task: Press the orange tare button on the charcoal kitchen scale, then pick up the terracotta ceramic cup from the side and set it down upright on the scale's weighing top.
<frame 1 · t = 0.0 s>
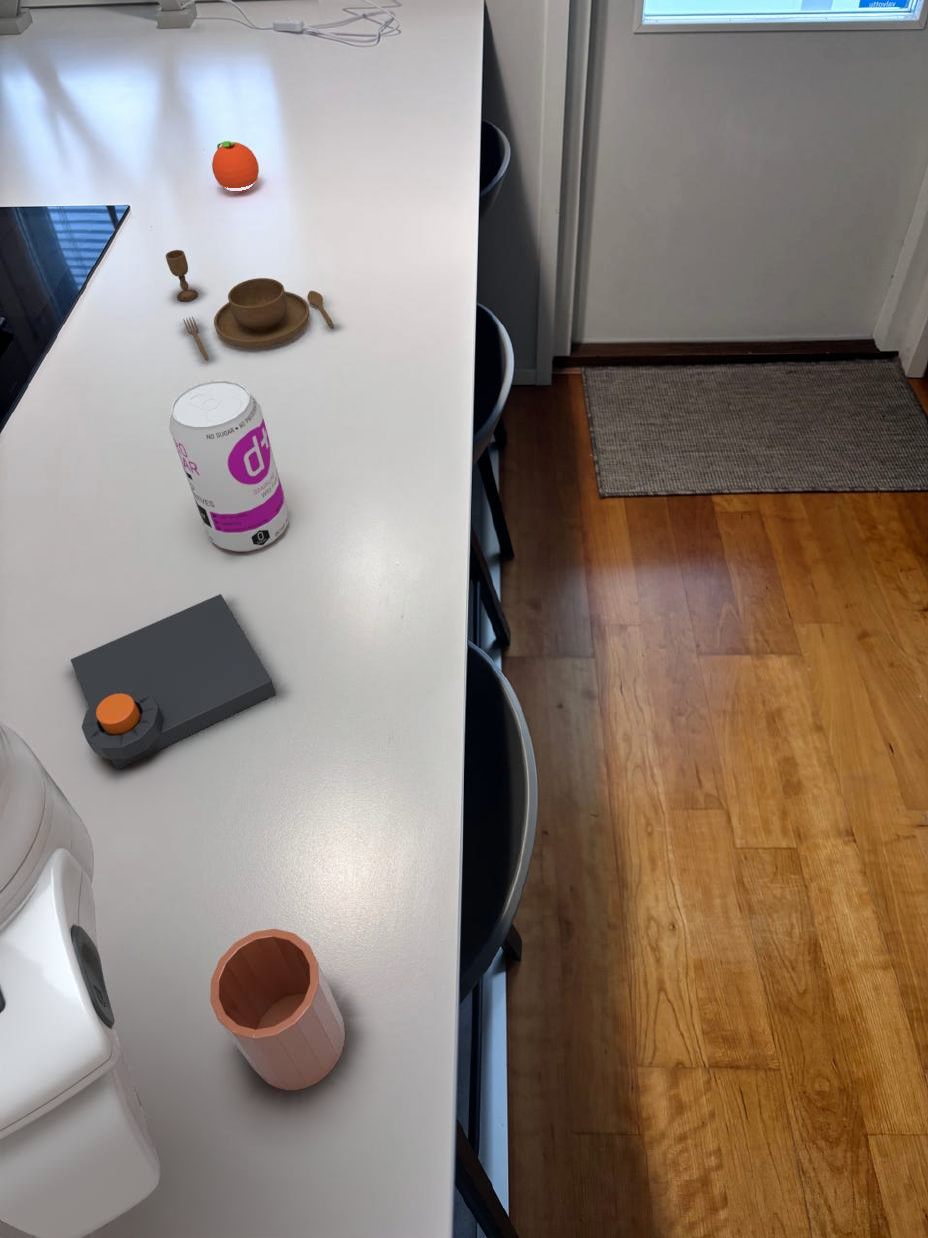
hand: (91, 1017, 43), 21 cm above the counter, tool pointing down, fingers open, 8 cm apart
cup: (297, 1039, 62), on the counter
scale: (175, 683, 82), on the counter
clementine: (239, 190, 147), on the counter
tare button: (118, 714, 76), point 4 cm above the counter, slide at 0.1 cm
supplement can: (249, 528, 95), on the counter
place setting: (254, 314, 123), on the counter
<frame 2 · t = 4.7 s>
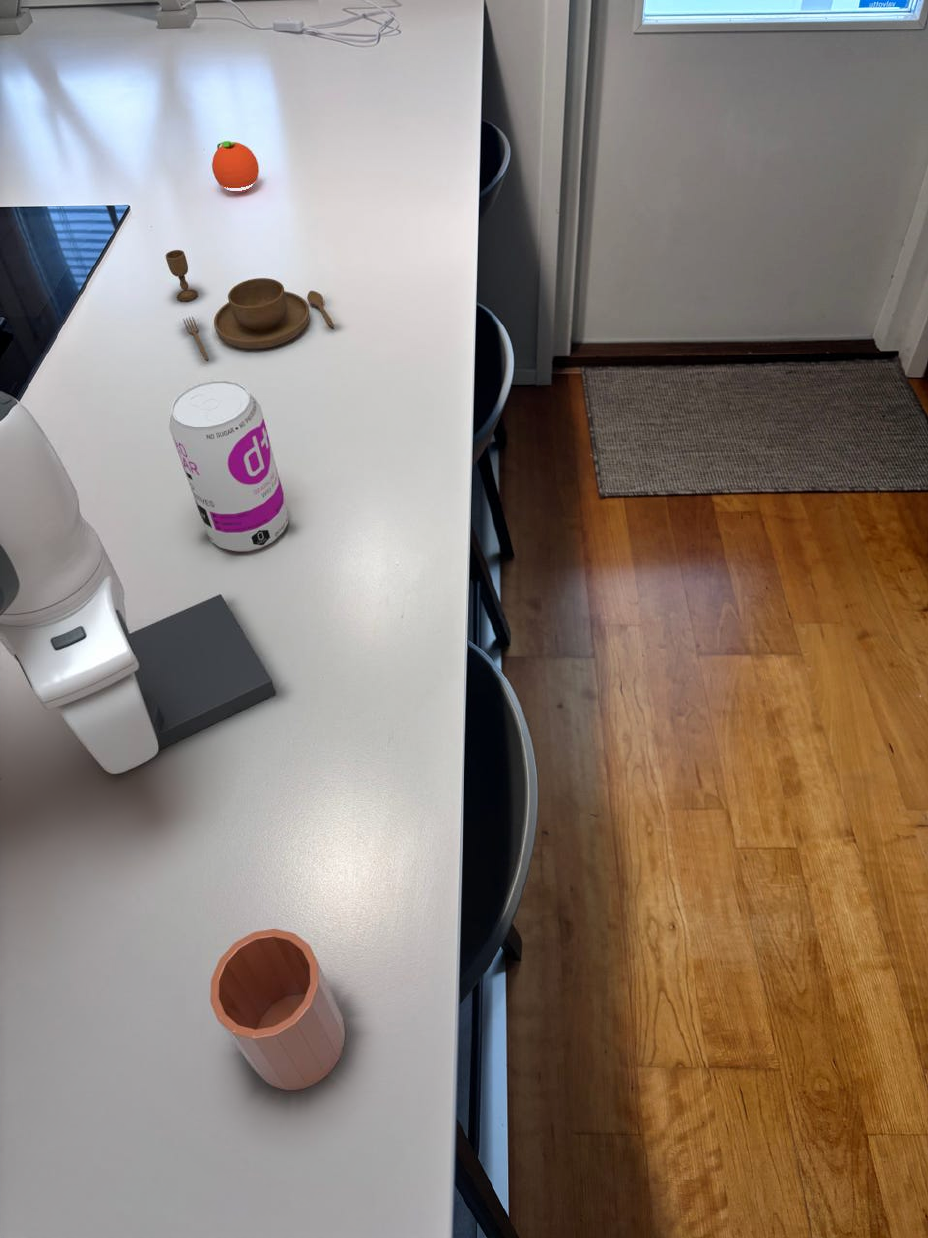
hand: (120, 712, 76), 4 cm above the counter, tool pointing down, fingers closed, pressing on tare button
tare button: (121, 719, 76), point 3 cm above the counter, slide at -0.7 cm, touching gripper
everything else where it was.
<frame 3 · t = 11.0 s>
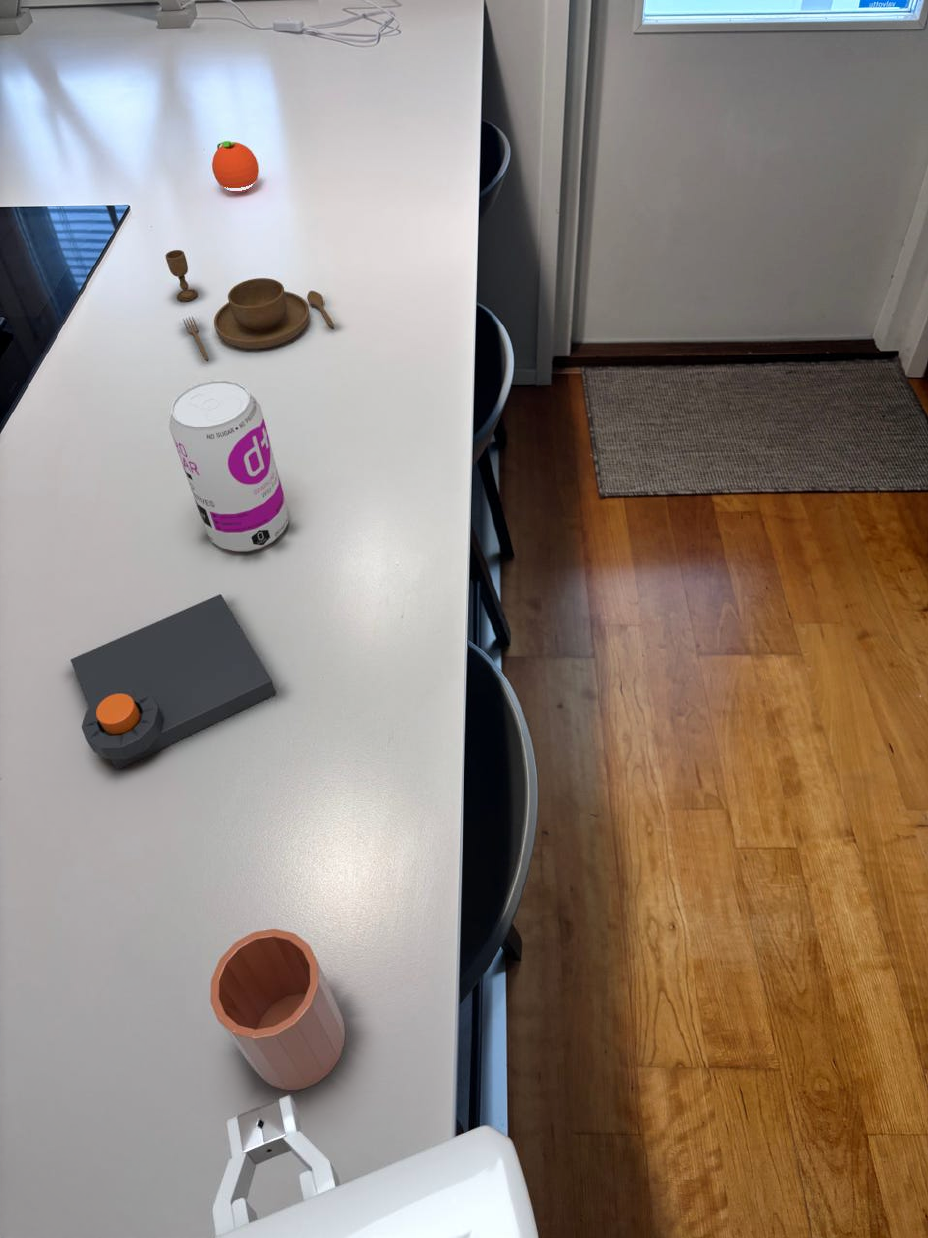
hand: (261, 1110, 43), 17 cm above the counter, tool horizontal, fingers closed
tare button: (118, 714, 76), point 4 cm above the counter, slide at 0.1 cm
everything else where it was.
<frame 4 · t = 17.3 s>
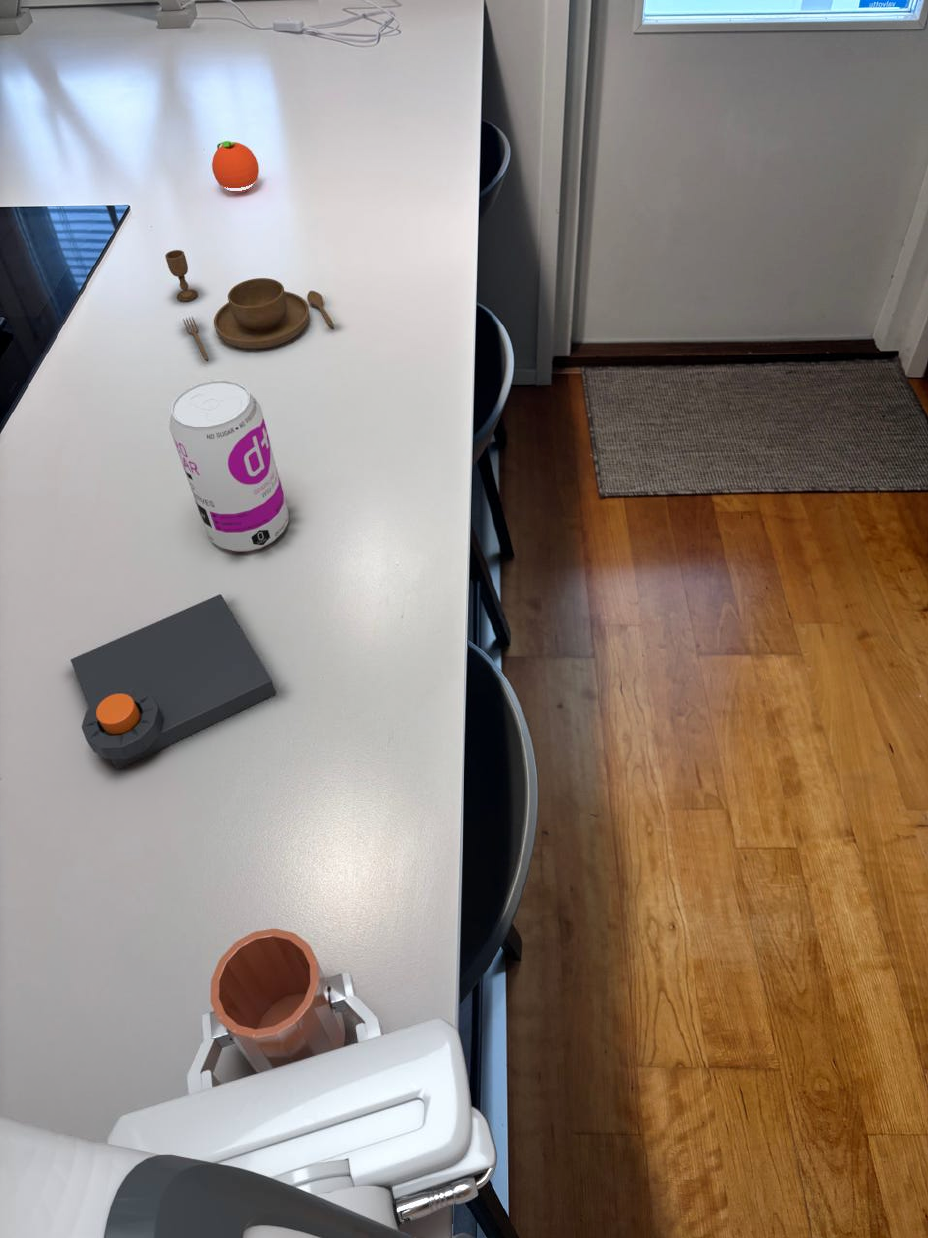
hand: (277, 995, 58), 6 cm above the counter, tool horizontal, fingers closed on cup, 6 cm apart
cup: (298, 1039, 62), on the counter, touching gripper
everything else where it was.
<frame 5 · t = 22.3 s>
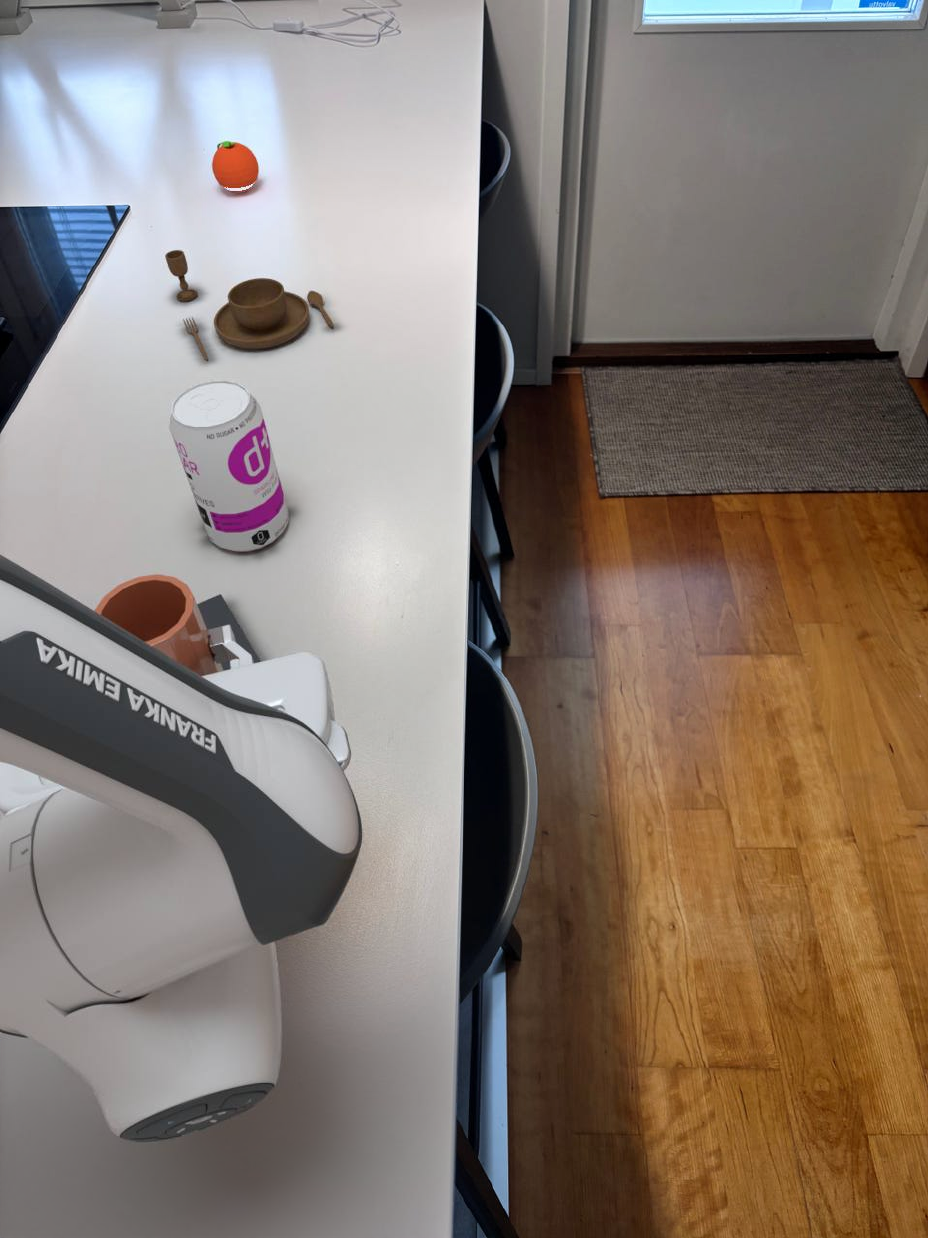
hand: (163, 646, 63), 17 cm above the counter, tool horizontal, fingers closed on cup, 6 cm apart
cup: (187, 706, 66), point 11 cm above the counter, touching gripper
everything else where it was.
when the fingers open (7 cm above the counter, at t = 27.4 s): cup stays where it is, resting on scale.
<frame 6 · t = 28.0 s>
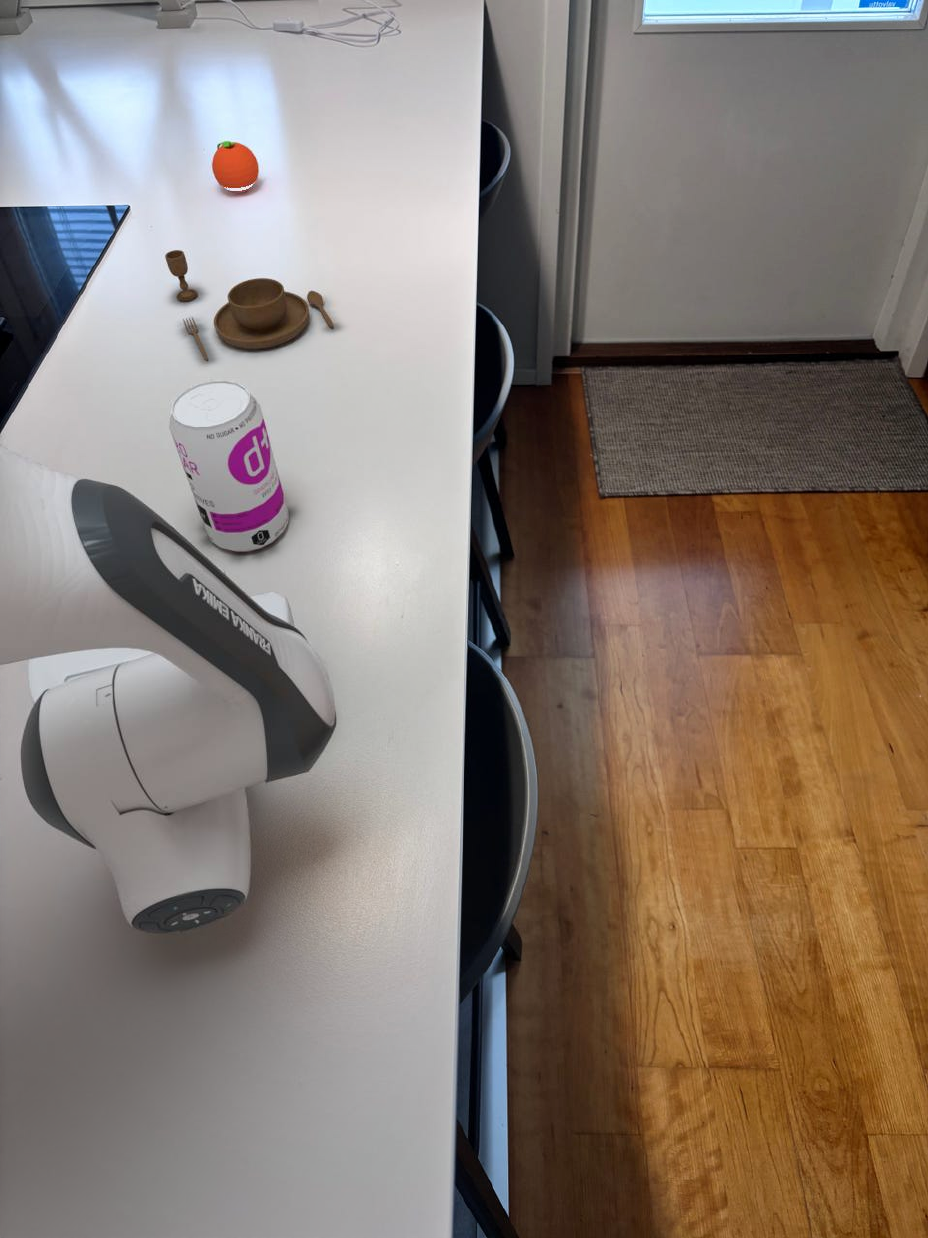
hand: (160, 590, 79), 8 cm above the counter, tool horizontal, fingers open, 8 cm apart
cup: (185, 644, 83), point 2 cm above the counter, touching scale
everything else where it was.
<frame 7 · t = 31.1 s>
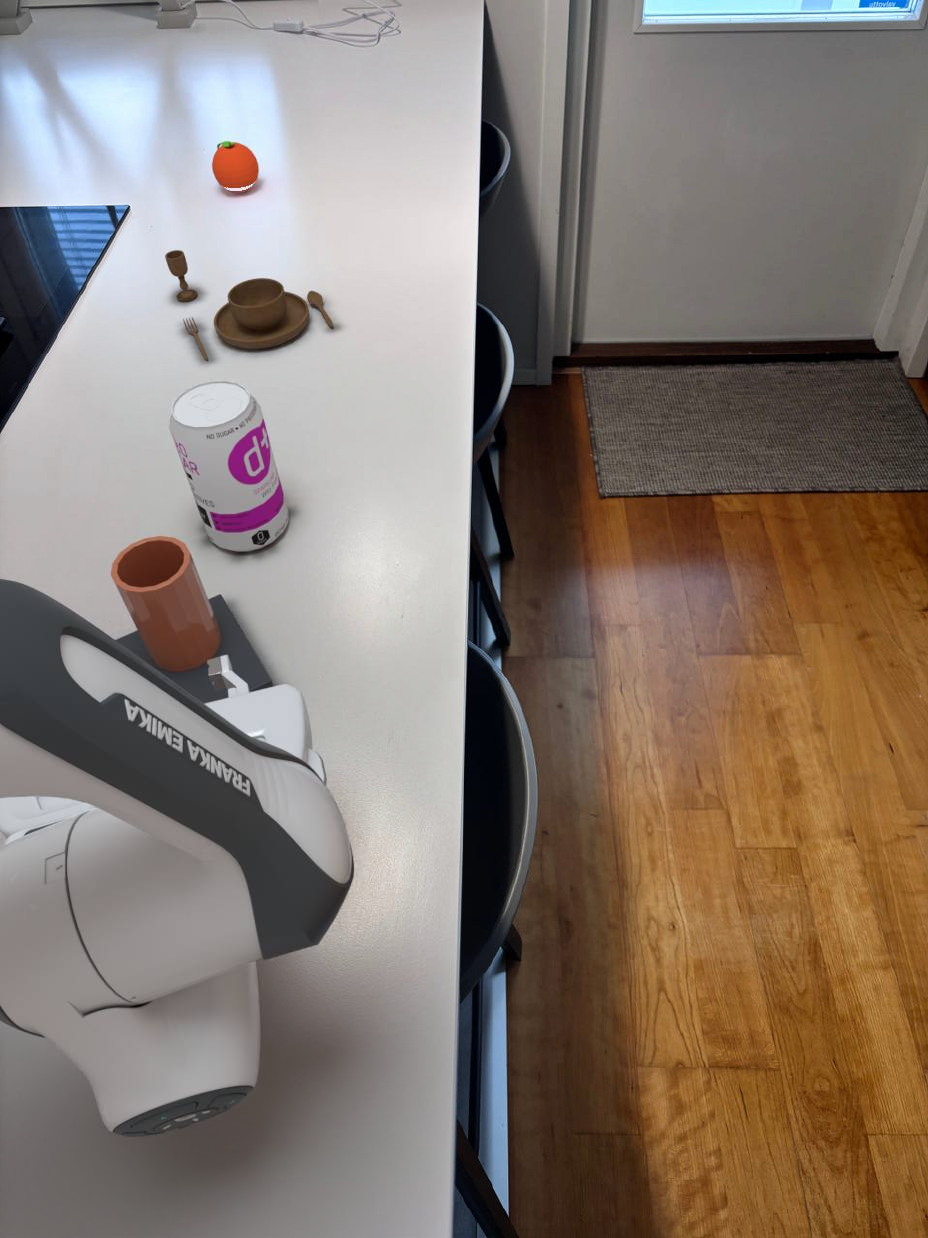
hand: (153, 678, 67), 12 cm above the counter, tool horizontal, fingers open, 8 cm apart
nothing on the counter moved.
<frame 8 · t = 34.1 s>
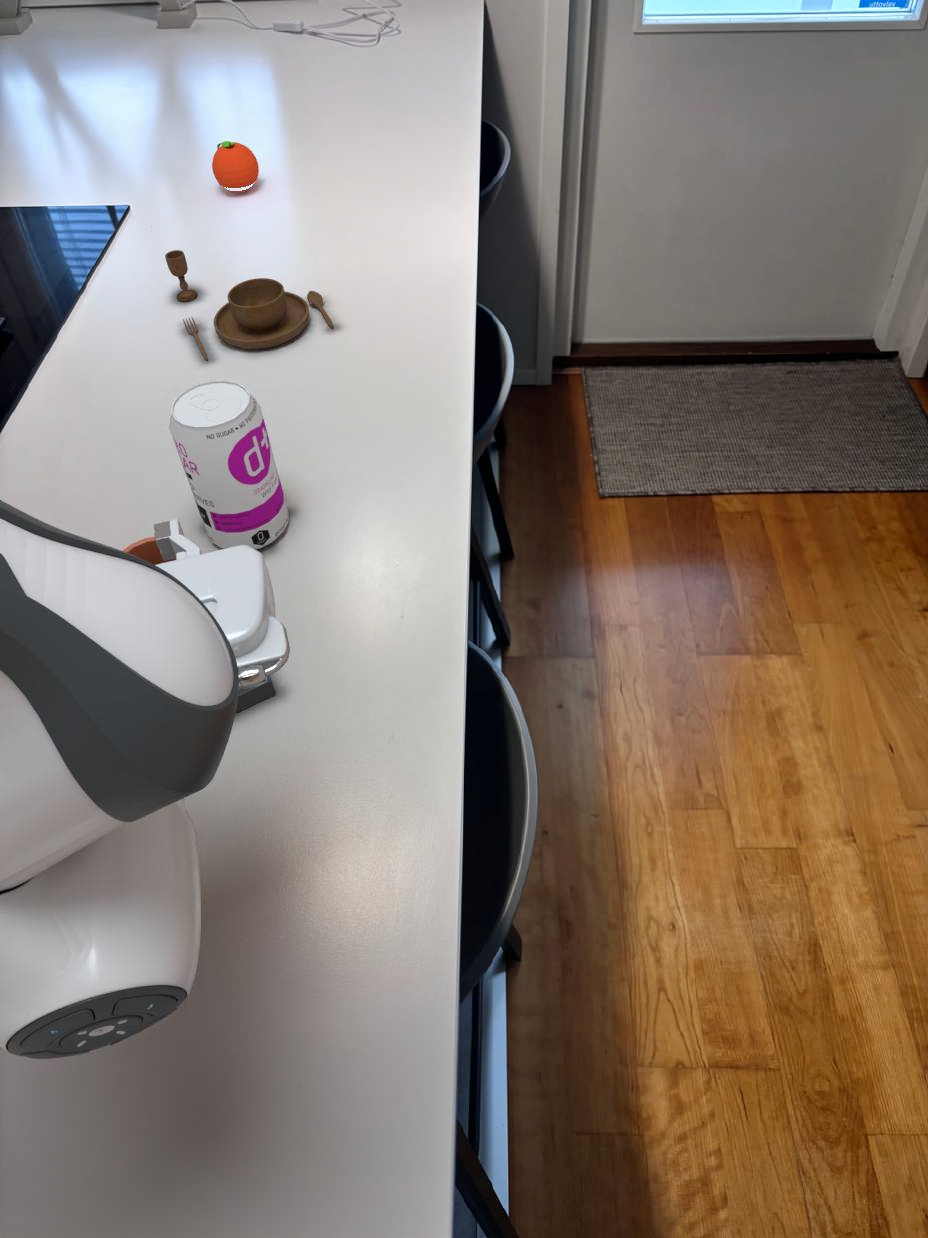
hand: (91, 546, 58), 25 cm above the counter, tool horizontal, fingers open, 8 cm apart
nothing on the counter moved.
at the end: tare button pushed in 0.9 cm at the most during the clip, back to where it started at the end; cup inside the target area on the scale (1.2 cm from its centre), point 1.9 cm above the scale's base; cup tilted 0° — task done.
